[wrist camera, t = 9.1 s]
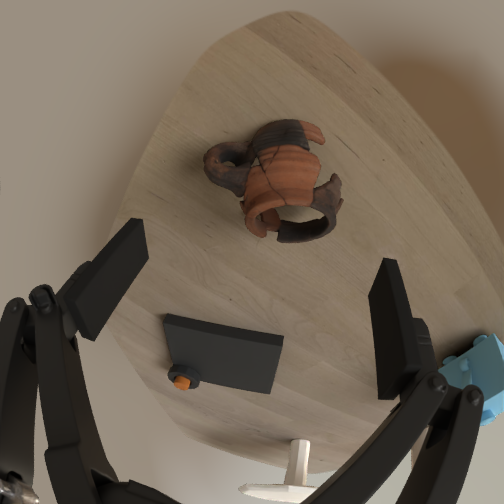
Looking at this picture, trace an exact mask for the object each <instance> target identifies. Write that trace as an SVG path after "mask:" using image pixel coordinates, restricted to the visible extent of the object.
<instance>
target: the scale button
mask: <svg viewBox="0 0 504 504" xmlns="http://www.w3.org/2000/svg"><path fill="white" fill-rule="evenodd" d="M189 385H190V380H189V379H187V378H185V377H182V376H176V379H175V381H174V386H175V387H177V388H179V389H181V390H187V389H188V388H189Z"/></svg>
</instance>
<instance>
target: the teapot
mask: <svg viewBox="0 0 504 504" xmlns="http://www.w3.org/2000/svg"><path fill="white" fill-rule="evenodd" d="M473 345H474V347H473V348H471V349H470V350H468V351H467V352H465V353H464V354H462V355H461V356H459V357H458V358H457V357H456V356H449V357H447V358H446V359H444V361H443V364H444V365H445V366H443V367H442V368H440V369H438V372H439V373H441V374H443V376H444V377H445V378H446V380H447V382H448V384H449V385H451V386H454V387H457V388H460V389H464V388H465V387H466V386H467V385H470V384H473V385H476V386H477V387H479V388H480V389H481V391H482V392H483V395H484V406H483V411H482V417H481V422H480V426H484V425H487V424H489V423H491V422H492V421H493V420H494V419H495V416H496V415H498V414H500V413H502V412H503V411H504V346H503V344H502V343H501V342H500V341H499V339H498V338H497V337H496V335H495V334H494V333H493V334H491V335H490V336H489V337H487V336H486V335H481V336H479V337H477V338H476V339H475V340H474V342H473Z"/></svg>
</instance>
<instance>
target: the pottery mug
mask: <svg viewBox="0 0 504 504" xmlns="http://www.w3.org/2000/svg"><path fill="white" fill-rule="evenodd" d="M306 139H308V140H311V141H314V142H316V143H318V144H320V145H323V144H324V143H325V139H324V137H323V135H322V133H321V130H320V129H319V128H318V127H316V126H315V125H313V124H311V123H308V122H304V121H299V120H292V119H291V120H287V119H284V120H279V121H274V122H271V123H269V124H267V125H266V126H264V127H263V128H261V129H260V130H259V131H258V132H257V134H256V135H255V137H254V138H253V139H252V140H251V142H250V141H247V142H243V143H238V142H224V143H220V144H217V145H215V146H214V147H212V148H211V149H209V150H208V151H207V153H206V154H205V155H204V157H203V162H204V164H205V165H204V172H205V174H206V175H207V177H208V178H209V180H210V181H212V182H213V183H214V184H216V185H218V186H221V187H223V188H226V189H228V190H231V191H232V192H233V193H234V194H235V195H236V196H237V197H242V196H243V195H244V201H240V206H241V208H242V210H243V212H244V214H245V215H246V216H245V225H246V227H247V229H249V231H250V232H252V233H253V234H254V235H256V236H258V237H261V238H264V237H266V231H267V230H268V231H274V232H278V237H277V241H279V242H281V243H300V242H307V241H311V240H314V239H318V238H320V237H323V236H324V235H326V234H328V233H330V232H331V231H332V230H333V229H334V227H335V226H336V214H337V213H338V211H339V209H340V207H341V205H342V203H343V199H342V198H340V197H341V192H340V188H341V185H342V183H341V180H340V178H339V177H338V175H337V174H335V173H334V174H332V176H331V178H330V181H328V182H326V183H325V184H323V185H322V186H319V187H316V188H314V185H315V183H316V181H317V177H318V175H319V171H320V169H321V164H320V161H319V159H318V157H317V156H316V155H314V154H312V153H310V152H309V150H310V148H309V145H308V143H307V140H306ZM256 157H258V160H259V163H260V165H255V166H253V167H251V165H252V164H253V163H254V161H255V159H256ZM227 161H230V162H232V163H234V164H235V166H236V167H231V166H226V165H224V164H222V163H223V162H227ZM284 205H297V206H306V207H311V208H314V209H316V210H318V211H320V212H322V213H323V214H324V215H325V216H324V217H322V218H321V219H314V220H311V221H307V222H302V223H296V222H290V221H285V220H280V218H279V215H278V214H277V211H276V210H275V209H274V207H278V206H284ZM258 214H259V215H260V216H261V220H259V219H257V218H255V217H256V216H257V215H258Z"/></svg>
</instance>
